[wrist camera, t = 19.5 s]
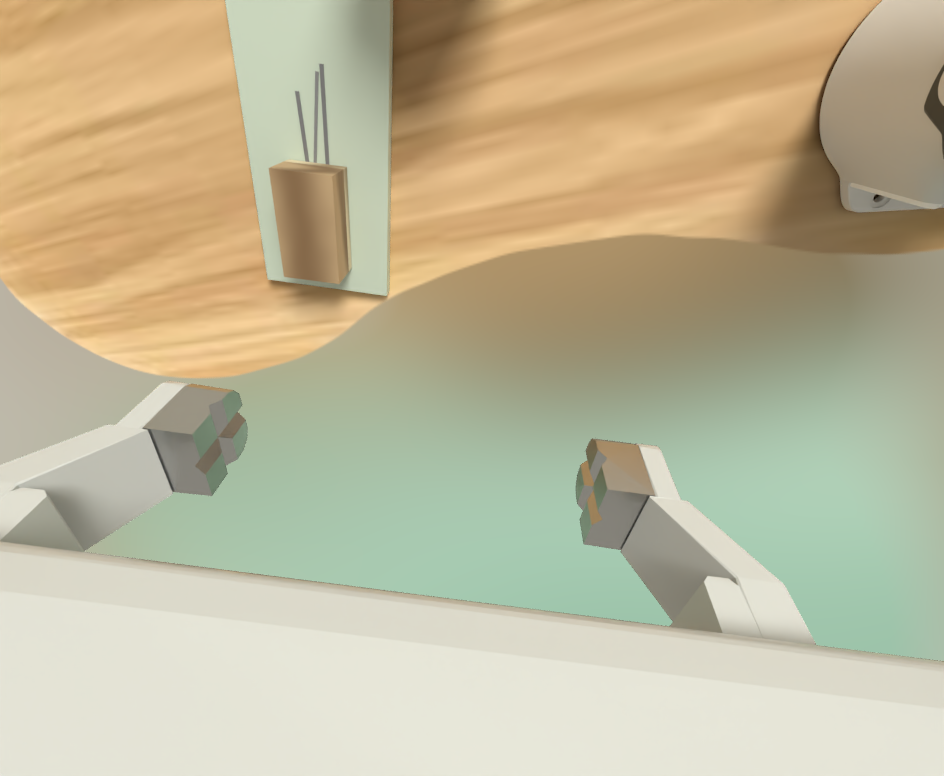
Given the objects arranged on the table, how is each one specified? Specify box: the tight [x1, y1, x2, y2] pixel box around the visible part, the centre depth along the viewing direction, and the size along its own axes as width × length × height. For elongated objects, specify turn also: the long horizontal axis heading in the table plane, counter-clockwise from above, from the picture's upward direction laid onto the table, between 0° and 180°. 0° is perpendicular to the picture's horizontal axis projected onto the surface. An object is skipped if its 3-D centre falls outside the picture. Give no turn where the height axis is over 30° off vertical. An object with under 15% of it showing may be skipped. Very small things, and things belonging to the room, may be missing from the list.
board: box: [225, 0, 393, 296], centre depth 39 cm, size 12×24×1 cm, turn 173°
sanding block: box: [269, 159, 352, 284], centre depth 40 cm, size 5×9×4 cm, turn 174°
